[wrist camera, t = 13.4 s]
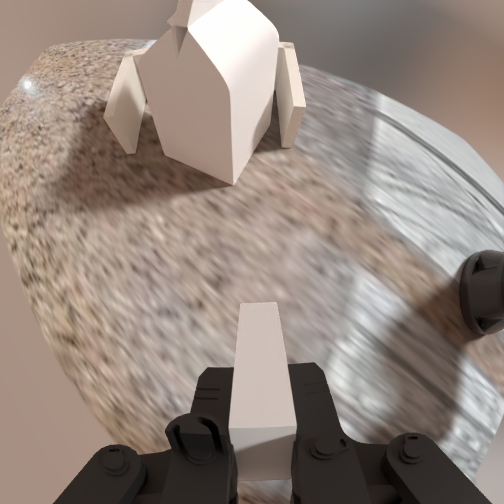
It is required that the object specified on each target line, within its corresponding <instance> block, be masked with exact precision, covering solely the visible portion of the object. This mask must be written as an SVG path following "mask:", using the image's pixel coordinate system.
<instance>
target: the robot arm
mask: <svg viewBox="0 0 504 504" xmlns="http://www.w3.org/2000/svg"><path fill="white" fill-rule="evenodd" d="M460 303H461V309H462V313H463V316H464V319H465V321H466V323H467V325H468V326H469V328H470V329H471V330H472V331H473V332H475V333H477V334H493V333H496V332H498V331H500V330H502V329H504V252H500V251H494V250H484V251H480V252H477V253H475V254H473V255H472V256H471V257H470V258H469V260H468V261H467V263H466V265H465V267H464V270H463V273H462V277H461V283H460ZM165 433H166V436H167V438H168V440H169V443H170V445H171V447H172V449H169V450H167V451H164V452H159V453H151V454H142V455H138V454H137V453H136V451H134V450H133V449H131V448H130V447H128V446H124V445H120V444H118V445H109V446H106V447H104V448H101V449H100V450H99V451H98V452H96V453H95V454H94V455H93V457H92V458H91V459H90V461H88V463H87V464H86V465H85V466H84V467H83V469H82V470H81V471H80V472H79V473H78V475H77V476H76V477H75V478H74V479H73V481H72V482H71V483H70V484H69V485H68V486H67V488H66V489H65V490H64V491H63V493H62V494H61V495H60V496H59V497H58V499H57V500H56V501H55V502H54V503H53V504H238V493H237V479H238V481H257V480H280V479H291V477H292V487H293V489H292V495H291V501H290V504H492V503H491V502H490V501H489V500H488V499H487V498H486V497H485V496H484V495H483V494H482V493H481V492H480V491H479V489H478V488H477V487H476V486H475V485H474V484H473V483H472V482H471V481H470V480H469V479H468V478H467V477H466V476H465V475H464V474H463V472H462V471H461V470H460V469H459V468H458V467H457V466H456V465H455V464H454V463H453V462H452V461H451V460H450V459H449V458H448V457H447V455H446V454H445V453H444V452H443V451H442V450H441V449H440V448H439V447H438V446H437V445H436V444H435V443H434V442H433V441H432V440H431V439H430V438H428V437H427V436H426V435H423V434H419V433H405V434H402V435H399V436H397V437H396V438H395V439H393V440H392V441H391V442H390V444H389V445H380V444H365V443H360V442H357V441H355V440H353V439H351V438H350V437H349V436H347V435H346V434H345V433H344V432H343V430H342V428H341V425H340V422H339V419H338V416H337V412H336V409H335V406H334V403H333V399H332V396H331V393H330V390H329V387H328V384H327V381H326V377H325V374H324V371H323V370H322V369H321V368H320V367H319V366H318V365H317V364H316V363H315V362H312V363H300V364H287V360H286V353H285V347H284V341H283V335H282V329H281V323H280V318H279V312H278V306H277V302H267V303H241V304H240V313H239V323H238V333H237V344H236V354H235V364H234V367H231V368H214V367H207V369H206V370H205V371H204V372H203V373H202V374H201V375H200V376H199V379H198V383H197V387H196V391H195V395H194V400H193V403H192V407H191V411H190V413H187V414H185V415H182V416H179V417H177V418H175V419H174V420H173V421H171V422H170V423H169V424H168V426H167V428H166V429H165Z"/></svg>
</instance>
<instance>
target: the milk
mask: <svg viewBox="0 0 504 504" xmlns="http://www.w3.org/2000/svg"><path fill="white" fill-rule="evenodd" d="M167 23H168V24H169V25H171V26H172V28H171V29H169V31H167V32H166V33H165V34H164V35H163V36H162V37H161V38H160V39H158V40H157V41H156V42H155V43H154V44H153V45H152V46H151V47H150V48H149V49H148V50H147V51H146V52H145V53H144V54H143V55H142V57H141V59H140V60H139V64H138V68H139V73H140V77H141V80H142V84H143V87H144V90H145V94H146V97H147V101H148V104H149V107H150V111H151V114H152V117H153V120H154V123H155V127H156V130H157V133H158V136H159V139H160V142H161V145H162V148H163V151H164V154H165V156H168V157H170V158H172V159H175V160H177V161H179V162H182V163H184V164H186V165H189V166H191V167H193V168H195V169H198V170H200V171H202V172H204V173H207V174H209V175H211V176H213V177H215V178H218V179H220V180H222V181H224V182H226V183H228V184H231V185H233V186H234V184H235V182H236V181H237V179H238V177H239V175H240V174H241V172H242V170H243V169H244V167H245V165H246V164H247V162H248V160H249V159H250V157H251V155H252V154H253V152H254V150H255V149H256V147H257V145H258V144H259V142H260V140H261V139H262V137H263V136H264V134H265V132H266V131H267V129H268V127H269V126H270V122H271V113H272V103H273V94H274V84H275V74H276V65H277V55H278V45H279V34H278V32H277V30H276V28H275V27H274V25H273V24H272V23H271V22H270V21H269V20H268V19H267V18H266V17H265V16H264V15H263V14H262V13H261V12H260V11H259V10H258V9H256V8H255V7H254V6H253V5H252V4H251V3H250V2H249V1H247V0H178V5H177V9H176V13H175V14H174V15H173V16H172V17H170V19H168V20H167Z"/></svg>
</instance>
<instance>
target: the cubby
mask: <svg viewBox="0 0 504 504" xmlns="http://www.w3.org/2000/svg"><path fill="white" fill-rule="evenodd" d="M148 49H149V48H144V49H138V50H133V51H128V52H125V55H124V57H123V60H122V62H121V65H120V68H119V70H118V73H117V76H116V79H115V81H114V84H113V87H112V90H111V93H110V96H109V100H108V103H107V106H106V109H105V113H104V116H103V118H104V120H105V121H106V123H107V124H108V126H109V127H110V129H111V131H112V132H113V134H114V135H115V137H116V138H117V140H118V141H119V143H120V145H121V146H122V148H123V149H124V151H125V152H126V154H134V153H136V149H137V143H138V137H139V132H140V127H141V121H142V116H143V112H144V107H145V102H146V98H147V97H146V94H145V90H144V87H143V84H142V80H141V77H140V73H139V68H138V64H139V60H140V59H141V57H142V55H143V54H144V53H145V52H146V51H147V50H148ZM274 90H276V97H277V106H278V115H279V125H280V135H281V145H282V148H292V146H293V143H294V140H295V137H296V134H297V131H298V129H299V126H300V123H301V120H302V117H303V114H304V112H305V109H306V104H305V98H304V93H303V87H302V82H301V77H300V72H299V68H298V63H297V58H296V54H295V50H294V45H293V43H286V42H279V45H278V55H277V65H276V74H275V84H274Z"/></svg>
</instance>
